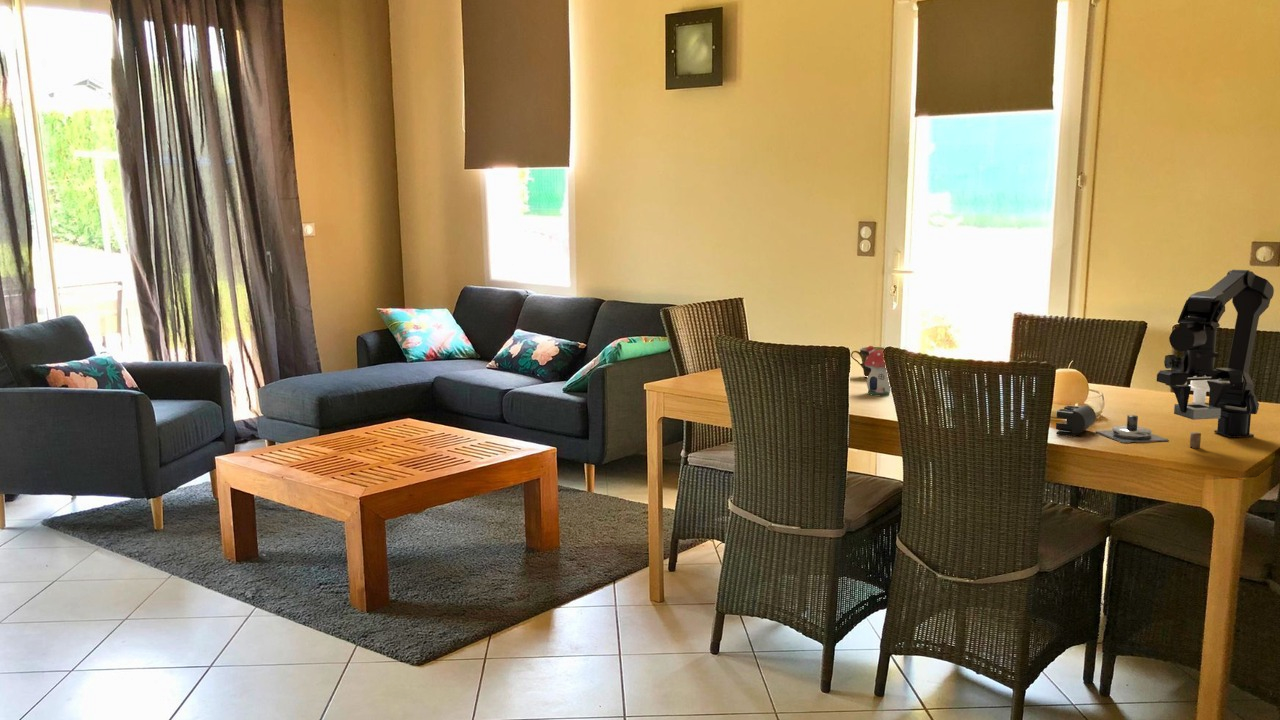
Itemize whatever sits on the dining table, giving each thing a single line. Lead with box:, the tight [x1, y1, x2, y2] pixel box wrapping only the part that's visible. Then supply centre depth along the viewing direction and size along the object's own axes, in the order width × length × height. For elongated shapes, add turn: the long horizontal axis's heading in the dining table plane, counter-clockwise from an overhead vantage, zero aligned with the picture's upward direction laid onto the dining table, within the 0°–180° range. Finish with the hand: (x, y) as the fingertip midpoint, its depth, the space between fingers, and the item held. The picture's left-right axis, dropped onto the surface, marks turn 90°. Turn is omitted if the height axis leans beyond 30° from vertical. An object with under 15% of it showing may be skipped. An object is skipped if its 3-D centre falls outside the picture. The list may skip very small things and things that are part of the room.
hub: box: [1095, 414, 1170, 444], centre depth 257 cm, size 12×12×5 cm
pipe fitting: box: [1188, 376, 1210, 404], centre depth 297 cm, size 6×7×8 cm
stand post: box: [1189, 431, 1202, 449], centre depth 245 cm, size 2×2×4 cm
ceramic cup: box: [850, 346, 885, 376], centre depth 347 cm, size 13×10×10 cm
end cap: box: [1055, 404, 1097, 437], centre depth 262 cm, size 10×7×7 cm
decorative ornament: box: [865, 345, 891, 396], centre depth 317 cm, size 9×7×15 cm
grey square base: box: [1173, 402, 1221, 421], centre depth 244 cm, size 7×7×2 cm
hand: (1197, 411), depth 244 cm, fingers closed on grey square base, 7 cm apart
